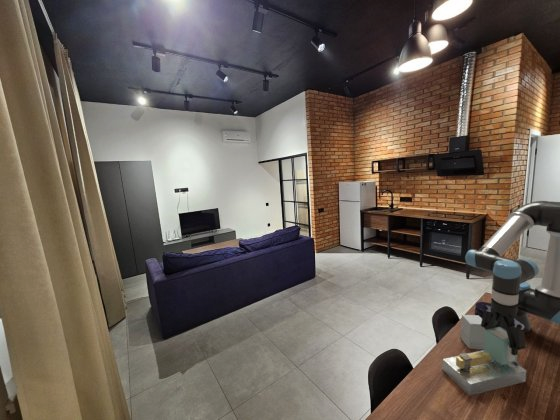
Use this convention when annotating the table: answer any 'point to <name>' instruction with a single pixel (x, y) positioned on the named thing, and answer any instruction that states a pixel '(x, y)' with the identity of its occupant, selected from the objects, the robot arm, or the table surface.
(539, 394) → the table surface
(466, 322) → the supplement box
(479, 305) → the storage jar
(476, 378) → the white base platform
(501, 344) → the mint green box
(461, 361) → the hammer with yellow handle
